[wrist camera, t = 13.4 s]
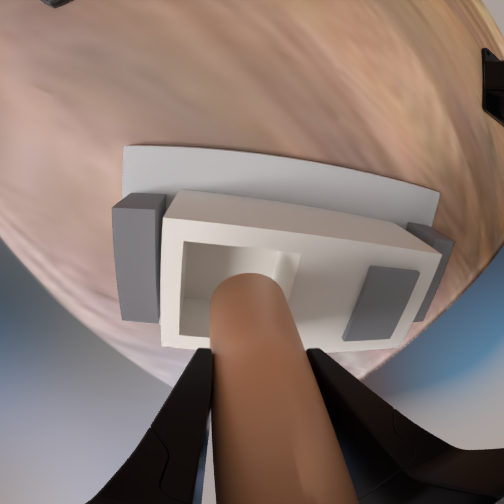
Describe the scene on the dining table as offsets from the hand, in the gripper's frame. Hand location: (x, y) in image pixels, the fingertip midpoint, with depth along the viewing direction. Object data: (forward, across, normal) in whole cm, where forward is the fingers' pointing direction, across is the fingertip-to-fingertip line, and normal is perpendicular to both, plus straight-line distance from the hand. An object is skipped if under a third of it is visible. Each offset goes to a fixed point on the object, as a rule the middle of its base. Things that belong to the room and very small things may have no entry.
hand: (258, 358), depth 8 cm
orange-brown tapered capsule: (+3, 0, 0) cm, 3 cm away
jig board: (+9, -3, 0) cm, 10 cm away
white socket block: (+8, -3, 0) cm, 9 cm away
